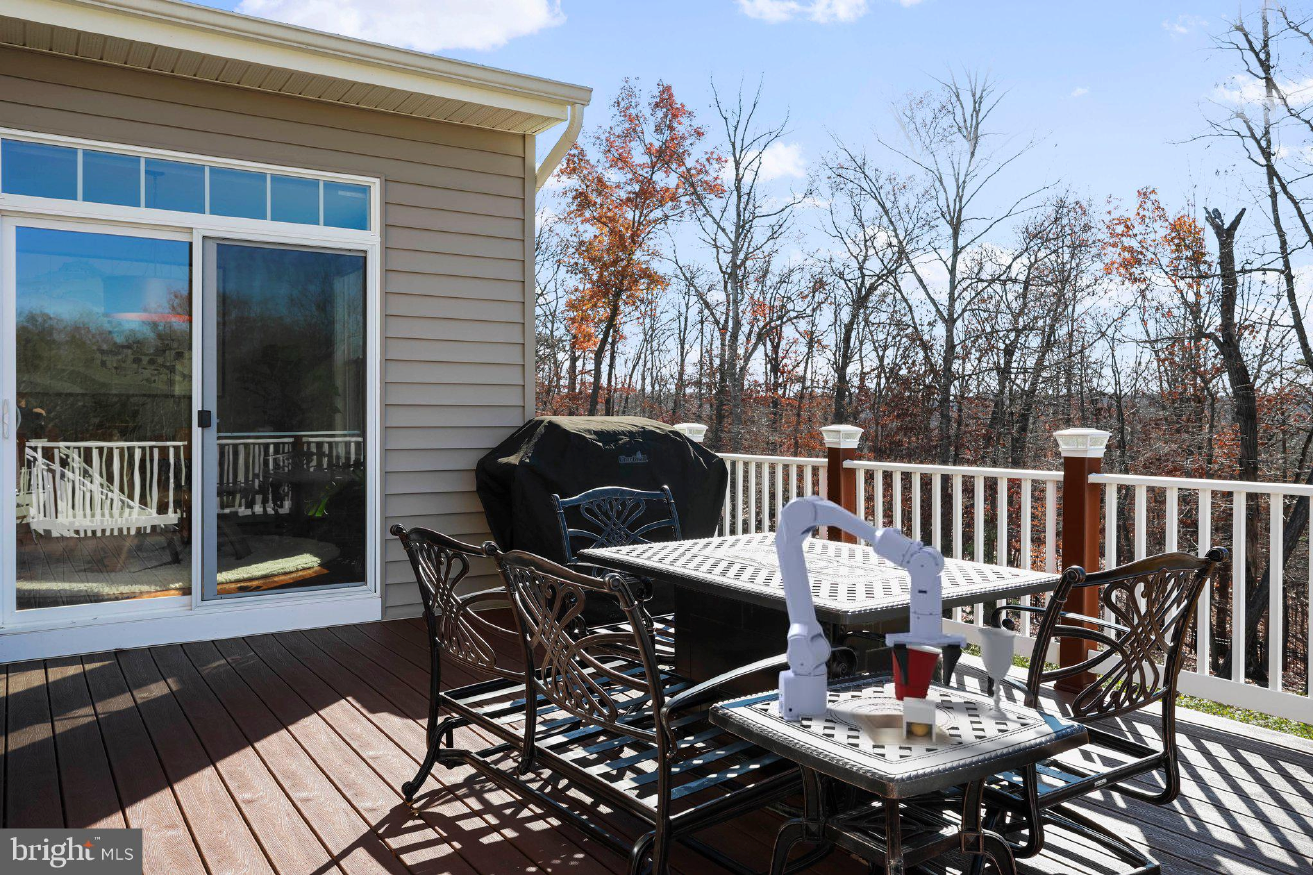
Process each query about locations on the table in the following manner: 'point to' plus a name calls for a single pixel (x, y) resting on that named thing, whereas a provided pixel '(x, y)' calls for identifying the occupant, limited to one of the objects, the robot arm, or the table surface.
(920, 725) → the orange marble
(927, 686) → the plastic cup
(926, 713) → the white tabletop archway
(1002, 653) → the chalice
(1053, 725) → the table surface
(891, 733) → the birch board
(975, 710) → the table surface
